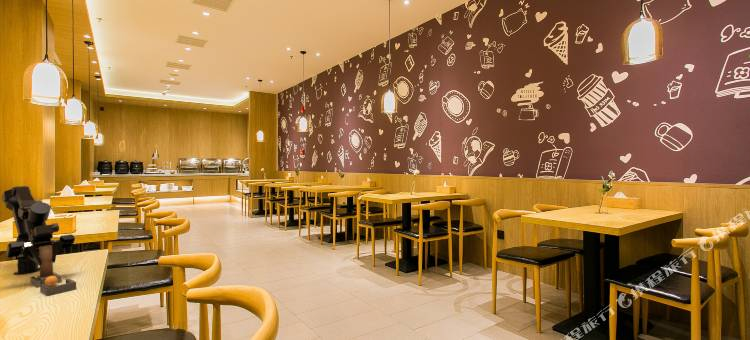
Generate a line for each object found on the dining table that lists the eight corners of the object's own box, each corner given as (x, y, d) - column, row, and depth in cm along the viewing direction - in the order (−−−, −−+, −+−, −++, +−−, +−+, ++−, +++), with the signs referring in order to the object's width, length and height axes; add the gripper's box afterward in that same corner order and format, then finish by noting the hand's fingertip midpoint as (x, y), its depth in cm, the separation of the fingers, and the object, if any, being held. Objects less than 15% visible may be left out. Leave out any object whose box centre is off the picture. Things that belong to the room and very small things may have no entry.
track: (30, 283, 137) (30, 277, 136) (54, 278, 142) (54, 272, 142) (36, 287, 132) (36, 281, 132) (61, 282, 137) (61, 276, 137)
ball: (49, 284, 135) (49, 274, 135) (60, 284, 135) (60, 274, 135) (42, 288, 131) (41, 278, 131) (53, 287, 132) (53, 277, 132)
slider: (37, 282, 136) (36, 246, 136) (52, 279, 139) (51, 244, 139) (41, 285, 133) (40, 248, 132) (57, 281, 136) (56, 246, 136)
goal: (40, 291, 127) (40, 284, 127) (69, 285, 134) (69, 278, 134) (46, 296, 123) (46, 288, 123) (76, 289, 130) (76, 282, 130)
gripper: (7, 220, 130) (15, 255, 124) (72, 213, 146) (83, 245, 140) (2, 239, 135) (11, 274, 129) (66, 231, 150) (76, 262, 144)
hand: (47, 263), depth 135 cm, fingers closed on slider, 4 cm apart
